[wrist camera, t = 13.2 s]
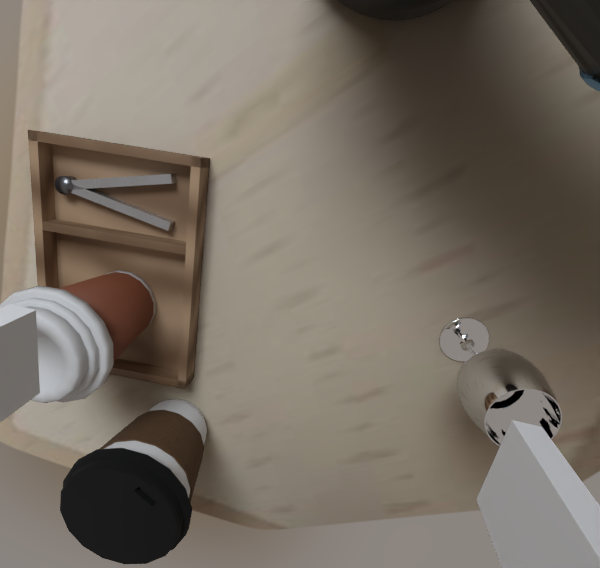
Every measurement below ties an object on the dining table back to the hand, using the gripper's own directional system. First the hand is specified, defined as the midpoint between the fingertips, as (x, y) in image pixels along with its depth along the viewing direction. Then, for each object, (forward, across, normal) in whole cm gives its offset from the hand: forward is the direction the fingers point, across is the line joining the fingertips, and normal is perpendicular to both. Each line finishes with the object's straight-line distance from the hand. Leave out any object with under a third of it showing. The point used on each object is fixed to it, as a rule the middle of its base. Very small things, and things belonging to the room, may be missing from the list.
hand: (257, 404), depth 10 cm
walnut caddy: (+24, -18, -6) cm, 31 cm away
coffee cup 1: (+24, -18, -10) cm, 32 cm away
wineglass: (+25, +15, -7) cm, 30 cm away
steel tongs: (+24, -18, 0) cm, 30 cm away
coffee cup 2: (+24, -11, -23) cm, 36 cm away
